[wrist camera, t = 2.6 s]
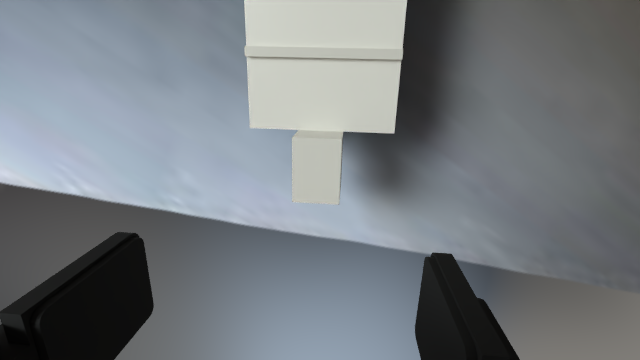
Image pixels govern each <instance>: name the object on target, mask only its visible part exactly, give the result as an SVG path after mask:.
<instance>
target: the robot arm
mask: <svg viewBox="0 0 640 360" xmlns="http://www.w3.org/2000/svg"><path fill="white" fill-rule="evenodd" d="M152 311H153V297H152V291H151V285H150V279H149V272H148V266H147V260H146V253H145V247H144V242H143V240H142V238H139V236H138V234H136V233H124V232H117V233H115V234H114V235H112V236H111V237H109V238H108V239H107V240H105V241H103V242H102V243H101V244H99V245H98V246H96V247H95V248H93V249H92V250H90V251H89V252H87V253H86V254H84V255H83V256H81V257H80V258H78V259H77V260H76V261H74V262H73V263H71V264H70V265H68V266H67V267H65V268H64V269H62V270H61V271H59V272H58V273H56V274H55V275H53V276H52V277H50V278H49V279H48V280H46V281H45V282H43V283H42V284H40V285H39V286H37V287H36V288H34V289H33V290H31V291H30V292H28V293H27V294H26V295H24V296H22V297H21V298H20V299H18V300H17V301H15V302H14V303H12V304H11V305H9V306H8V307H6V308H5V309H3V310H2V311H0V319H1V322H2V324H1V325H0V360H114V359H115V358H116V357H117V355H118V354H119V353H120V352H121V351H122V349H123V348H124V347H125V346H126V345H127V343H128V342H129V341H130V340H131V339H132V337H133V336H134V335H135V334H136V332H137V331H138V330H139V329H140V328H141V326H142V325H143V324H144V323H145V322H146V320H147V319H148V318H149V317H150V315H151V314H152ZM415 335H416V340H417V345H418V349H419V353H420V357H421V360H520V359H519V357H518V356H517V354H516V352H515V351H514V349H513V347H512V346H511V344H510V342H509V341H508V339H507V337H506V336H505V334H504V332H503V330H502V329H501V327H500V325H499V324H498V322H497V320H496V319H495V317H494V315H493V314H492V312H491V310H490V309H489V307H488V305H487V304H486V302H485V301H484V300H483V299H480V298H477V297H476V296H475V294H474V292H473V290H472V289H471V287H470V285H469V283H468V282H467V280H466V278H465V276H464V275H463V273H462V271H461V269H460V268H459V266H458V264H457V262H456V260H455V259H454V257H453V255H452V254H447V253H432V254H431V257H425V261H424V267H423V275H422V282H421V289H420V296H419V303H418V310H417V317H416V324H415Z"/></svg>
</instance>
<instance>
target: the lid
mask: <svg viewBox="0 0 640 360" xmlns="http://www.w3.org/2000/svg"><path fill="white" fill-rule="evenodd" d="M244 3H245V26H246V46H244V47H245V56H247V71H248V94H249V117H250V128H265V129H291V130H298V131H297V133H296V134H295V135H294V136H293V137H292V202H300V203H318V204H336V205H339V200H340V189H341V171H342V149H343V132H367V133H393V134H394V132H395V121H396V111H397V101H398V90H399V80H400V69H401V60H402V58H403V49H402V48H403V38H404V27H405V17H406V6H407V0H244Z"/></svg>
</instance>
